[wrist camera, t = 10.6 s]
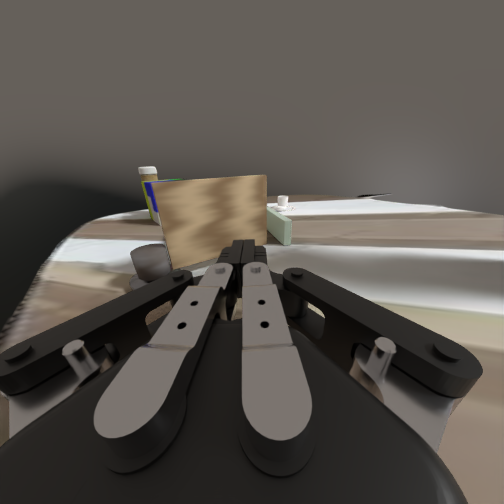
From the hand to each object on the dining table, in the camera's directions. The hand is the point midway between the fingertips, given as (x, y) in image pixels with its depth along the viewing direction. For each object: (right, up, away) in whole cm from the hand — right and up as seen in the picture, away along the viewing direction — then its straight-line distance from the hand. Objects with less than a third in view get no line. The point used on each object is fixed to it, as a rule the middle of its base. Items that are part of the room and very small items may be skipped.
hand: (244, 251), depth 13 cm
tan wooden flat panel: (-5, -1, +12) cm, 13 cm away
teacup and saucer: (+7, +13, +46) cm, 48 cm away
